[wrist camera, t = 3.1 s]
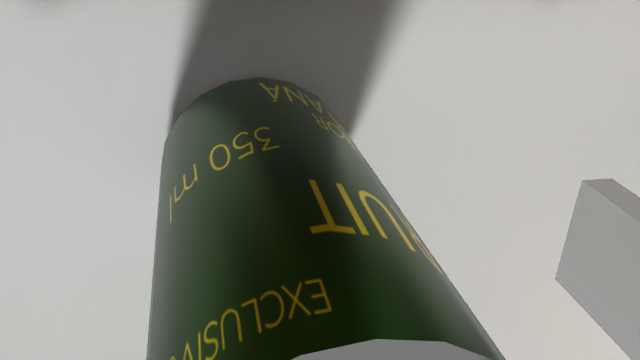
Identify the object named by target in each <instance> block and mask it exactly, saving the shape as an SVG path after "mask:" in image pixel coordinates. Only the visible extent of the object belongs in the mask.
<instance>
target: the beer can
mask: <svg viewBox="0 0 640 360" xmlns="http://www.w3.org/2000/svg"><path fill="white" fill-rule="evenodd" d="M146 360H506V359H505V358H504V356H503V355H502V354H501V352H500V351H499V349H498V348H497V346H496V345H495V344H494V342H493V341H492V339H491V338H490V337H489V335H488V334H487V332H486V331H485V329H484V328H483V327H482V325H481V324H480V322H479V321H478V319H477V318H476V317H475V315H474V314H473V312H472V311H471V309H470V308H469V307H468V305H467V304H466V302H465V301H464V299H463V298H462V297H461V295H460V294H459V292H458V291H457V289H456V288H455V287H454V285H453V284H452V282H451V281H450V279H449V278H448V277H447V275H446V274H445V272H444V271H443V270H442V268H441V267H440V265H439V264H438V262H437V261H436V260H435V258H434V257H433V255H432V254H431V252H430V251H429V250H428V248H427V247H426V245H425V244H424V242H423V241H422V240H421V238H420V237H419V235H418V234H417V232H416V231H415V230H414V228H413V227H412V225H411V224H410V222H409V221H408V220H407V218H406V217H405V215H404V214H403V213H402V211H401V210H400V208H399V207H398V205H397V204H396V203H395V201H394V200H393V198H392V197H391V195H390V194H389V193H388V191H387V190H386V188H385V187H384V185H383V184H382V183H381V181H380V180H379V178H378V177H377V175H376V174H375V173H374V171H373V170H372V168H371V167H370V165H369V164H368V163H367V161H366V160H365V158H364V157H363V156H362V154H361V153H360V151H359V150H358V148H357V147H356V146H355V144H354V143H353V141H352V140H351V138H350V137H349V136H348V134H347V133H346V131H345V130H344V128H343V127H342V126H341V124H340V123H339V121H338V120H337V118H336V117H335V116H334V115H333V114H332V113H331V112H330V110H329V109H328V108H327V107H326V106H325V105H324V104H323V103H322V102H321V101H320V100H319V98H318V97H317V96H315V95H313V94H311V93H309V92H307V91H305V90H304V89H302V88H300V87H298V86H296V85H294V84H292V83H289V82H284V81H278V80H272V79H267V78H253V79H246V80H238V81H231V82H228V83H226V84H224V85H222V86H219V87H217V88H215V89H213V90H211V91H209V92H207V93H204V94H202V95H201V96H200V97H199V98H197V99H196V100H195V101H194V102H193V103H192V104H191V105H190V106H189V107H188V108H187V109H186V110H185V111H184V112H183V113H181V114H180V115H179V116H178V118H177V120H176V122H175V124H174V126H173V128H172V130H171V132H170V133H169V135H168V137H167V139H166V141H165V145H164V152H163V159H162V167H161V177H160V190H159V203H158V216H157V229H156V242H155V255H154V268H153V280H152V293H151V306H150V319H149V332H148V345H147V358H146Z"/></svg>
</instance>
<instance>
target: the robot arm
mask: <svg viewBox="0 0 640 360" xmlns="http://www.w3.org/2000/svg"><path fill="white" fill-rule="evenodd" d="M555 279H556V280H557V281H558V282H559V283H560V285H561V286H562V287H563V288H564V289H565V290H566V291H567V292H568V293H569V294H570V295H571V296H572V297H573V298H574V299H575V300H576V301H577V303H578V304H579V305H580V306H581V307H582V308H583V309H584V310H585V311H586V312H587V313H588V314H589V315H590V316H591V317H592V318H593V319H594V321H595V322H596V323H597V324H598V325H599V326H600V327H601V328H602V329H603V330H604V331H605V332H606V333H607V334H608V335H609V336H610V337H611V338H612V340H613V341H614V342H615V343H616V344H617V345H618V346H619V347H620V348H621V349H622V350H623V351H624V352H625V353H626V354H627V355H628V356H629V358H630V359H631V360H640V198H639V197H638V196H637V195H635V194H634V193H632V192H631V191H629V190H628V189H626V188H625V187H623V186H622V185H620V184H619V183H617V182H616V181H614V180H613V179H612V178H611V179H597V180H582V183H581V186H580V190H579V193H578V197H577V201H576V204H575V208H574V212H573V215H572V219H571V222H570V226H569V230H568V233H567V237H566V241H565V244H564V248H563V252H562V255H561V259H560V262H559V266H558V270H557V273H556V277H555Z"/></svg>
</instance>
